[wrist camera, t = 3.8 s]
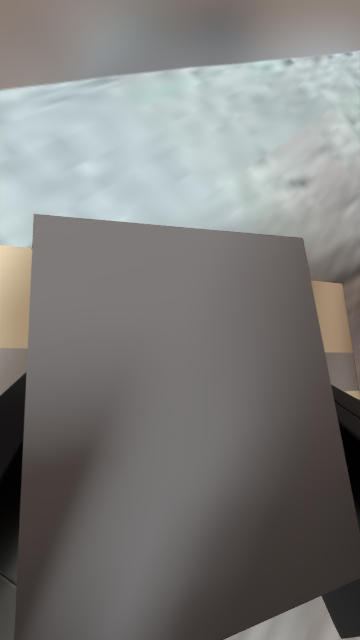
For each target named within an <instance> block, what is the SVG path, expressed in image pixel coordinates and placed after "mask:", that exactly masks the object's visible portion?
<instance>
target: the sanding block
mask: <svg viewBox="0 0 360 640" xmlns="http://www.w3.org/2000/svg"><path fill="white" fill-rule="evenodd" d="M359 578H360V531H359V526H358V521H357V516H356V511H355V505H354V500H353V495H352V490H351V485H350V480H349V474H348V469H347V464H346V459H345V454H344V449H343V443H342V438H341V433H340V428H339V423H338V418H337V412H336V407H335V402H334V397H333V392H332V387H331V381H330V376H329V371H328V366H327V361H326V356H325V351H324V345H323V340H322V335H321V330H320V325H319V320H318V314H317V309H316V304H315V299H314V294H313V289H312V283H311V278H310V273H309V268H308V263H307V258H306V252H305V247H304V242H303V238H296V237H285V236H274V235H262V234H251V233H240V232H229V231H218V230H206V229H195V228H184V227H173V226H162V225H150V224H139V223H128V222H117V221H106V220H95V219H83V218H72V217H61V216H50V215H39V214H34V222H33V244H32V265H31V287H30V309H29V330H28V352H27V373H26V395H25V416H24V438H23V459H22V481H21V502H20V524H19V545H18V567H17V588H16V610H15V632H14V640H224V639H226V638H228V637H230V636H232V635H235V634H237V633H239V632H241V631H244V630H246V629H248V628H250V627H253V626H255V625H257V624H259V623H261V622H264V621H266V620H268V619H270V618H273V617H275V616H277V615H279V614H281V613H284V612H286V611H288V610H290V609H293V608H295V607H297V606H299V605H302V604H304V603H306V602H308V601H310V600H313V599H315V598H317V597H319V596H322V595H324V594H326V593H328V592H330V591H333V590H335V589H337V588H339V587H342V586H344V585H346V584H348V583H351V582H353V581H355V580H357V579H359Z"/></svg>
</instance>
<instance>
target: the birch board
mask: <svg viewBox="0 0 360 640" xmlns="http://www.w3.org/2000/svg"><path fill="white" fill-rule="evenodd" d="M31 265H32V249H31V248H22V247H13V246H5V245H0V395H1V394H2V393H3V392H4V391H5V390H6V389H8V388H9V387H10V386H11V385H12V384H13V383H14V382H15V381H16V380H17V379H18V378H20V377H21V376H22V375H23V374H24V373H25V372H26V371H27V352H28V330H29V309H30V287H31ZM311 283H312V289H313V294H314V299H315V304H316V309H317V314H318V320H319V325H320V330H321V335H322V340H323V345H324V351H325V356H326V361H327V366H328V371H329V376H330V381H331V384H332V385H333V386H335V387H337V388H339V389H340V390H342V391H344V392H346V393H348V394H349V395H351V396H353V397H355V398H357V399H359V400H360V393H359V387H358V380H357V374H356V368H355V361H354V355H353V349H352V342H351V336H350V330H349V323H348V317H347V311H346V305H345V298H344V292H343V286H342V284H340V283H331V282H322V281H313V280H311Z"/></svg>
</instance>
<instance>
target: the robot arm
mask: <svg viewBox="0 0 360 640" xmlns="http://www.w3.org/2000/svg"><path fill="white" fill-rule="evenodd" d="M26 373H27V371H26V372H25V373H24V374H23V375H22V376H21V377H20V378H18V379H17V380H16V381H15V382H14V383H13V384H12V385H11V386H10V387H9V388H8V389H6V390H5V391H4V392H3V393H2V394H1V395H0V640H14V632H15V610H16V588H17V567H18V545H19V524H20V502H21V481H22V459H23V438H24V416H25V395H26ZM331 387H332V392H333V397H334V402H335V407H336V412H337V418H338V423H339V428H340V433H341V438H342V443H343V449H344V454H345V459H346V464H347V469H348V474H349V480H350V485H351V490H352V495H353V500H354V505H355V511H356V516H357V521H358V526H359V531H360V400H359V399H357V398H355V397H353V396H351V395H349V394H348V393H346V392H344V391H342V390H340V389H339V388H337V387H335V386H333V385H332V384H331ZM322 598H323V600H324V603H325V605H326V607H327V609H328V612H329V614H330V616H331V618H332V621H333V623H334V625H335V627H336V629H337V631H338V633H339V635H340V637H341V638H342V639H344V638H351V637H359V636H360V578H359V579H357V580H355V581H353V582H351V583H348V584H346V585H344V586H342V587H339V588H337V589H335V590H333V591H330V592H328V593H326V594H324V595H322Z"/></svg>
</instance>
